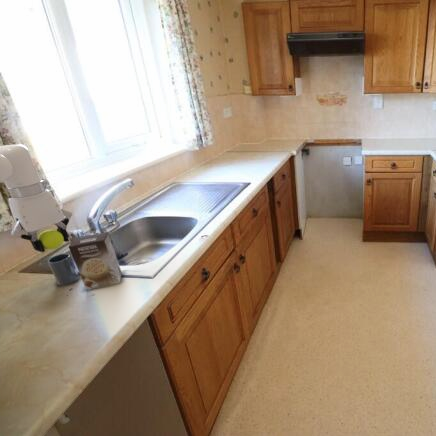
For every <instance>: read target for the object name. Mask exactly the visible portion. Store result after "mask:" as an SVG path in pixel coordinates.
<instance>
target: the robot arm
mask: <svg viewBox="0 0 436 436" xmlns="http://www.w3.org/2000/svg"><path fill="white" fill-rule="evenodd" d="M1 183H3V184H4V185H5V187H6V189H7V191H8V193H9V195H10V198H8V206H9V209H10V212H11V216H12V218H13V220H14V223H15V224H14V226H13V228H12V230H11V231H10V236H11V237H13V238H19V239H23V240H27V241H29V242H30V243H31V245H32V248H33V249H34V251H37V252H39V253H45V252H46V249H44V247H43V245H42V243H41V241H40V240H39V239H38V231H39V230H42V229H45V228H48V227H50V226H53V225H54V226H55V227H56V231H59V232H60V233H61V234H62V235H63V237H64V241H63V242H64V243H68V242H70V236H69V233H68V231H67V228H68V224H69V222H70V220H71V218H72V216H73V212H70V211H68V210H65V209H63V208H61V206H60V205H59V203H58V201H57V199H56V198H55V196H54V195H53V193H52V192H51V190H49V189H47V186H49V185H50V183H49V181H48V180H43V179H42V177H41V176H40V173H39V171H38V168H37V166H36V164H35V162H34V160H33V157H32V155H31V153H30V151H29V149H28V147H27V146H26V145H24V144H19V143H17V144H16V143H15V144H5V145H0V184H1ZM21 231H25V232H26V234H24V233H21Z"/></svg>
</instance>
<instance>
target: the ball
mask: <svg viewBox="0 0 436 436" xmlns="http://www.w3.org/2000/svg"><path fill="white" fill-rule="evenodd" d="M37 239H39V240H40V241H41V243H42V245H43V247H44V249H45V250H48V251H49V250H51V251H52V250H57V249H58V248H60V247H62V246H63V244H64V242H65V241H64V237H63V235H62V234H61V233H60V232H59V231H57V229H46V230H43V231H42V232H40V234H39V235H37Z"/></svg>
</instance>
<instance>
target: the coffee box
mask: <svg viewBox="0 0 436 436" xmlns="http://www.w3.org/2000/svg"><path fill="white" fill-rule="evenodd" d="M68 249H69V252H70V255H71V257H72V260H73V262H74V264H75V267H76V269H77V272H78V274H79V276H80V278H81V280H82V283H83V285H84V287H85V289H86V291H90V290H95V289H99V288H104V287H108V286H113V285H116V284H117V285H118V284H120V282H121V279H122V275H123V272H122V269H121V266H120V263H119V261H118V258H117V255H116V252H115V249H114V246H113V244H112V240H111V238H110V235H109V232H108V231H106V232H99V233H93V234H88V235H81V236H74V237H73V238H72V239H71V241H70V243H69V245H68Z"/></svg>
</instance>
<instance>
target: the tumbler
mask: <svg viewBox="0 0 436 436" xmlns="http://www.w3.org/2000/svg"><path fill="white" fill-rule="evenodd" d="M47 264H48V266H49V269H50V270H51V272H52V273H51V274H52V275H53V277H54V279H55V281H56V283H57V285H58V286H61V287H63V286H68V285H71V284H73V283H75V282H78V280H80V278H81V276H80V273H79V271H78V269H77V266H76V264H75V262H74V260H73V257H72V255H71V253H59V254H57V255H53V256H52V257H50V258H49V259H48V260H47Z"/></svg>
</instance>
